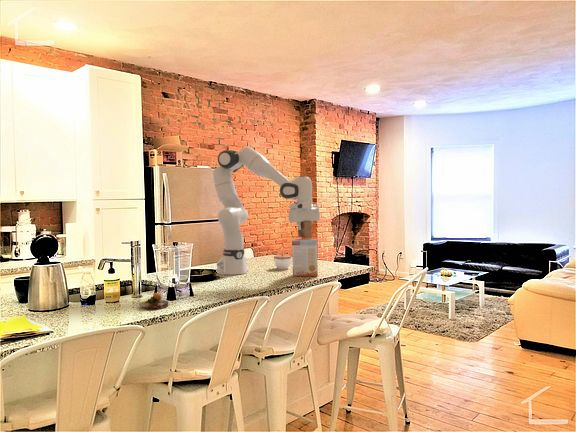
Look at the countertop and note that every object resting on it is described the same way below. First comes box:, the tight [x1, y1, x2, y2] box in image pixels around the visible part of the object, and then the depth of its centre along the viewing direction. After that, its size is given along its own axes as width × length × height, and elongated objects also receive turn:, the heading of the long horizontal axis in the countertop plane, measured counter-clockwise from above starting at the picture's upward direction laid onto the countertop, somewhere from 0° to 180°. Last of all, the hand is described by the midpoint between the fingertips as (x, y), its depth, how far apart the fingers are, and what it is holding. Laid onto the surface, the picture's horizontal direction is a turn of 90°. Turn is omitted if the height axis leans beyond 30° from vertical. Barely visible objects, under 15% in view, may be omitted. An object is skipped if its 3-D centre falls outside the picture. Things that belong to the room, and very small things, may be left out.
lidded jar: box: [273, 252, 292, 270], centre depth 290 cm, size 11×11×9 cm
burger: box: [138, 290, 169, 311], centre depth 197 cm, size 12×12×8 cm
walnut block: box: [297, 221, 313, 239], centre depth 264 cm, size 6×5×9 cm
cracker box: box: [291, 238, 319, 277], centre depth 265 cm, size 14×6×21 cm, turn 84°
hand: (304, 229), depth 264 cm, fingers closed on walnut block, 5 cm apart
